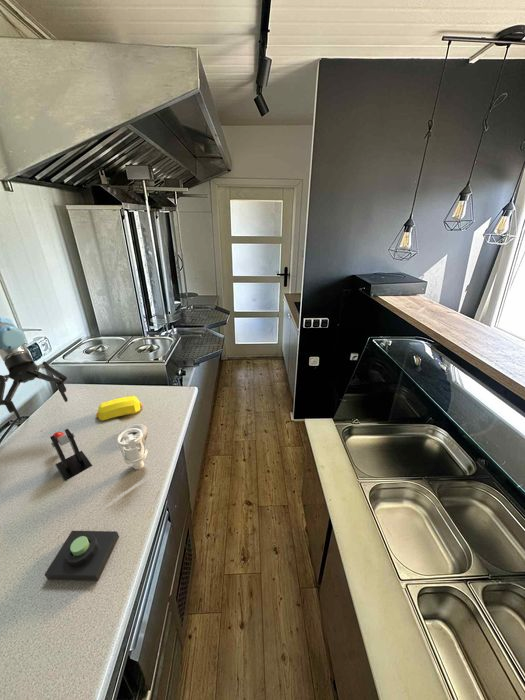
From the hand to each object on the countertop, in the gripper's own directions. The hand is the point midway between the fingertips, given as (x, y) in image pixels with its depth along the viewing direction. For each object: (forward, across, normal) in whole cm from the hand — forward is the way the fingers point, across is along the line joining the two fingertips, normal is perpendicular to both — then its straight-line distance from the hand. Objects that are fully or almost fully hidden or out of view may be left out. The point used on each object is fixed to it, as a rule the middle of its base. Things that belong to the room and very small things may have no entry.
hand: (44, 409), depth 98 cm
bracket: (+23, 0, 0) cm, 23 cm away
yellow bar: (+11, -23, -12) cm, 28 cm away
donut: (+24, -20, +1) cm, 31 cm away
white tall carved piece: (+35, -14, +12) cm, 39 cm away
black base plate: (+46, +8, +23) cm, 52 cm away
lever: (+14, 0, +3) cm, 14 cm away
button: (+43, +8, +26) cm, 51 cm away
